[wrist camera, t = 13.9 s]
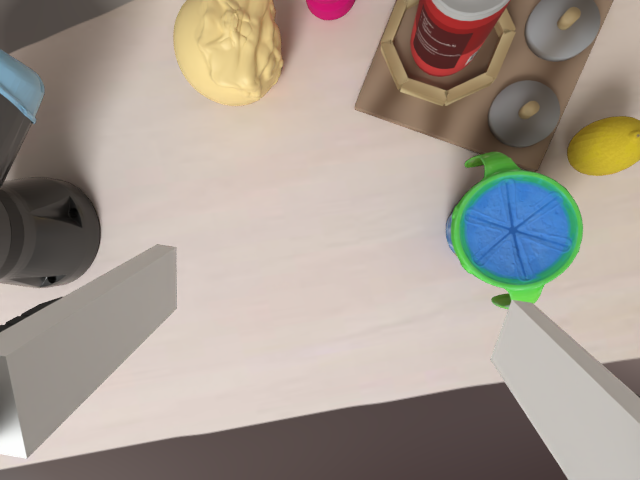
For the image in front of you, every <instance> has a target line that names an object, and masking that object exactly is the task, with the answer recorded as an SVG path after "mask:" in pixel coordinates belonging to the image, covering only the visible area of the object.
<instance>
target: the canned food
mask: <svg viewBox="0 0 640 480" xmlns="http://www.w3.org/2000/svg"><path fill="white" fill-rule="evenodd" d="M509 2H510V0H419V4H418V8H417V12H416V17H415V21H414V25H413V29H412V34H411V40H410V46H411V52H412V56H413V59H414V61H415V63H416V64H417V66H418V67H419V68H420V69H421V70H422V71H423V72H425V73H427V74H429V75H432V76H437V77H444V76H449V75H452V74H455V73H456V72H458V71H460V70H462V69H463V68H465V67H466V66H467V65H468V64H469V63H470V62H471V61H472V60H473V58H474V57H475V55H476V54H477V52H478V51H479V49H480V48H481V46H482V44H483V43H484V41H485V40H486V38H487V37H488V35H489V34H490V32H491V31H492V29H493V27H494V26H495V24H496V23H497V21H498V20H499V18H500V17H501V15H502V13H503V12H504V10H505V9H506V7H507V6H508V4H509Z"/></svg>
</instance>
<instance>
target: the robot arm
mask: <svg viewBox="0 0 640 480" xmlns="http://www.w3.org/2000/svg"><path fill="white" fill-rule="evenodd" d="M44 91H45V89H44V84H43V82H42V80H41V78H40V77H39V76H38V74H37V73H36V72H34V71H33V70H32V69H30V68H29V67H27V66H26V65H24V64H23V63H21V62H20V61H18V60H16V59H15V58H13V57H12V56H10V55H9V54H7V53H5V52H4V51H2V50H1V49H0V283H4V284H11V285H18V286H25V287H33V288H47V287H53V286H59V285H64V284H67V283H70V282H72V281H74V280H76V279H78V278H79V277H80V276H82V275H83V274H84V273H85V272H86V271H87V269H88V268H89V267H90V265H91V264H92V262H93V260H94V258H95V256H96V253H97V250H98V246H99V239H100V229H99V222H98V218H97V214H96V212H95V209H94V207H93V205H92V204H91V202H90V200H89V199H88V198H87V196H86V195H85V194H84V193H83V192H82V191H81V190H79V189H78V188H77V187H75V186H74V185H72V184H70V183H68V182H65V181H62V180H56V179H50V178H43V177H31V178H24V179H17V180H11V181H5V179H6V176H7V174H8V172H9V170H10V168H11V166H12V164H13V162H14V160H15V158H16V155H17V153H18V151H19V149H20V147H21V145H22V143H23V141H24V139H25V137H26V135H27V132H28V130H29V128H30V126H31V124H32V123H33V124H35V123H36V118H35V116H36V113H37V111H38V108H39V106H40V103H41V101H42V99H43V96H44ZM176 309H177V277H176V247H172V246H165V245H159V244H157V245H155V246H154V247H152V248H150V249H148V250H146V251H145V252H143V253H141V254H139V255H137V256H136V257H134V258H132V259H130V260H129V261H127V262H125V263H123V264H121V265H120V266H118V267H116V268H114V269H113V270H111V271H109V272H107V273H105V274H104V275H102V276H100V277H98V278H96V279H95V280H93V281H91V282H89V283H88V284H86V285H84V286H82V287H80V288H79V289H77V290H75V291H73V292H72V293H70V294H68V295H66V296H64V297H60V298H57V299H54V300H51V301H48V302H45V303H42V304H39V305H37V306H36V307H34V308H32V309H30V310H28V311H26V312H24V313H23V314H21V316H17V317H15V318H13V319H12V320H10V321H8V322H6V324H5V325H0V454H4V455H9V456H15V457H20V458H26V459H27V458H28V457H29V456H30V455H31V454H32V453H33V452H34V451H35V450H36V449H37V448H38V447H39V446H40V445H41V444H42V443H43V442H44V441H45V440H46V439H47V438H48V437H49V436H50V435H51V434H52V433H53V432H54V431H55V430H56V429H57V428H58V427H59V426H60V425H61V424H62V423H63V422H64V421H65V420H66V419H67V418H68V417H69V416H70V415H71V414H72V413H73V412H74V411H75V410H76V409H77V408H78V407H79V406H80V405H81V404H82V403H83V402H84V401H85V400H86V399H87V398H88V397H89V396H90V395H91V394H92V393H93V392H94V391H95V390H96V389H97V388H98V387H99V386H100V385H101V384H102V383H103V382H104V381H105V380H106V379H107V378H108V377H109V376H110V375H111V374H112V373H113V372H114V371H115V370H116V369H117V368H118V367H119V366H120V365H121V364H122V363H123V362H124V361H125V360H126V359H127V358H128V357H129V356H130V355H131V354H132V353H133V352H134V351H135V350H136V349H137V348H138V347H139V346H140V345H141V344H142V343H143V342H144V341H145V340H146V339H147V338H148V337H149V336H150V335H151V334H152V333H153V332H154V331H155V330H156V329H157V328H158V327H159V326H160V325H161V324H162V323H163V322H164V321H165V320H166V319H167V318H168V317H169V316H170V315H171V314H172V313H173V312H174V311H175V310H176ZM490 360H491V361H492V363H493V365H494V366H495V368H496V369H497V371H498V372H499V374H500V375H501V377H502V378H503V380H504V381H505V383H506V384H507V386H508V388H509V389H510V391H511V392H512V393H513V395H514V397H515V398H516V400H517V401H518V403H519V404H520V406H521V407H522V409H523V410H524V412H525V414H526V415H527V417H528V418H529V420H530V421H531V422H532V424H533V426H534V427H535V429H536V430H537V432H538V433H539V435H540V437H541V438H542V440H543V441H544V443H545V444H546V446H547V447H548V449H549V450H550V452H551V453H552V455H553V456H554V458H555V460H556V461H557V463H558V464H559V466H560V467H561V469H562V470H563V472H564V473H565V475H566V476H567V478H568V480H640V396H638V395H637V394H635V393H633V392H632V391H631V390H630V389H629V388H628V387H627V386H626V385H624V384H623V383H622V382H621V381H620V380H619V379H617V378H616V377H615V376H614V375H613V374H612V373H611V372H610V371H609V370H608V369H606V368H605V367H604V366H603V365H602V364H601V363H600V362H599V361H597V360H596V359H595V358H594V357H593V356H592V355H591V354H589V353H588V352H587V351H586V350H585V349H584V348H583V347H582V346H580V345H579V344H578V343H577V342H576V341H575V340H574V339H572V338H571V337H570V336H569V335H568V334H567V333H566V332H565V331H563V330H562V329H561V328H560V327H559V326H558V325H557V324H556V323H554V322H553V321H552V320H551V319H550V318H549V317H548V316H546V315H545V314H544V313H543V312H542V311H541V310H540V309H539V308H537V307H536V306H535V305H534V304H533V303H530V302H523V301H517V300H512V301H511V304H510V306H509V309H508V312H507V315H506V317H505V320H504V323H503V326H502V328H501V331H500V334H499V337H498V340H497V342H496V345H495V348H494V351H493V353H492V356H491V359H490Z"/></svg>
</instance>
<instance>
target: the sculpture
mask: <svg viewBox="0 0 640 480" xmlns="http://www.w3.org/2000/svg"><path fill="white" fill-rule="evenodd" d="M275 14H276V10H275V8H274V4H273V1H272V0H187V1H186V2H185V3H184V4H183V6H182V7H181V9H180V11H179V13H178V15H177V18H176V21H175V26H174V35H173V39H174V50H175V55H176V58H177V61H178V64H179V67H180V69H181V71H182V73H183V75H184V76H185V78H186V79H187V81H188V82H189V83H190V84H191V85H192V86H193V88H195V89H196V90H197V91H198V92H199V93H200V94H202V95H203V96H205V97H207V98H208V99H210V100H212V101H215V102H217V103H220V104H224V105H230V106H242V105H247V104H251V103H253V102H255V101H257V100H259V99H260V98H262V97H263V96H264V95H265V94H266V93H267V92H268V91H269V89H270V88H271V87H272V86H273V85H275V84H276V83H277V81H278V78H279V76H280V73H281V67H282V66H283V59H282V56H281V36H280V31H279V27H278V25H277V24H276V23H275V20H274V19H275Z"/></svg>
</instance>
